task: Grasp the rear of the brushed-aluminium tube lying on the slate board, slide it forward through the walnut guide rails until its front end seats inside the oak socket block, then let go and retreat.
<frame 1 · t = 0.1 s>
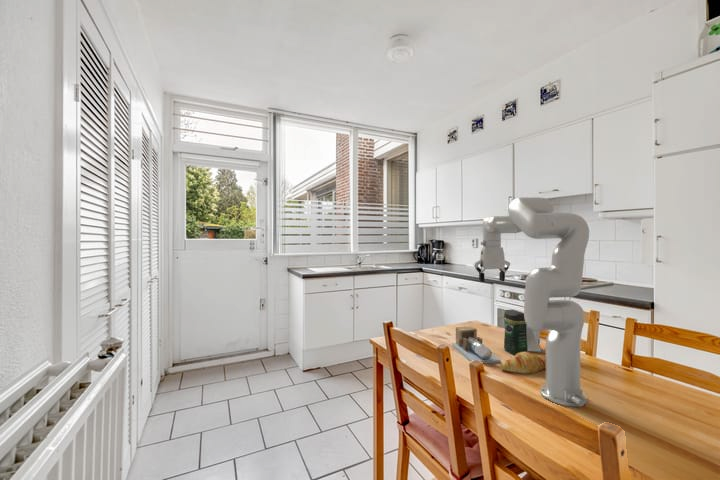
hand: (492, 281, 148), 31 cm above the table, tool pointing down, fingers open, 9 cm apart
croissant: (524, 369, 126), on the table
socket: (468, 348, 149), resting on board
tube: (478, 347, 139), point 4 cm above the table, slide at 0.0 cm
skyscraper: (533, 350, 146), on the table
coffee jar: (515, 352, 144), on the table
guide: (474, 352, 143), resting on board
board: (474, 353, 143), on the table
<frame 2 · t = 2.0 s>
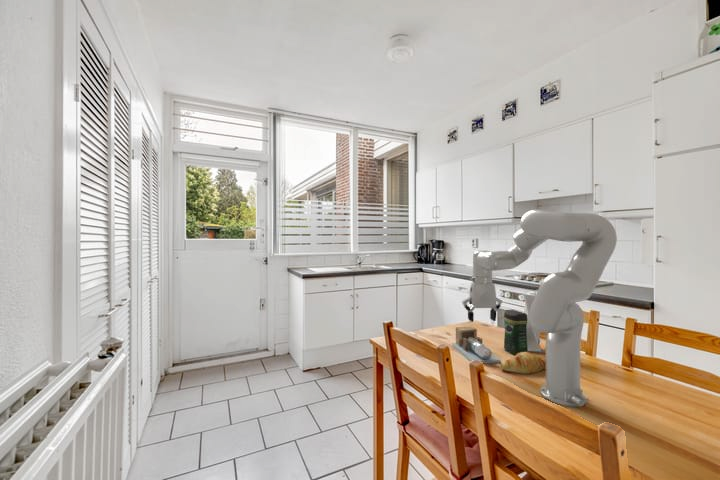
hand: (482, 320, 135), 17 cm above the table, tool pointing down, fingers open, 9 cm apart
nothing on the table moved.
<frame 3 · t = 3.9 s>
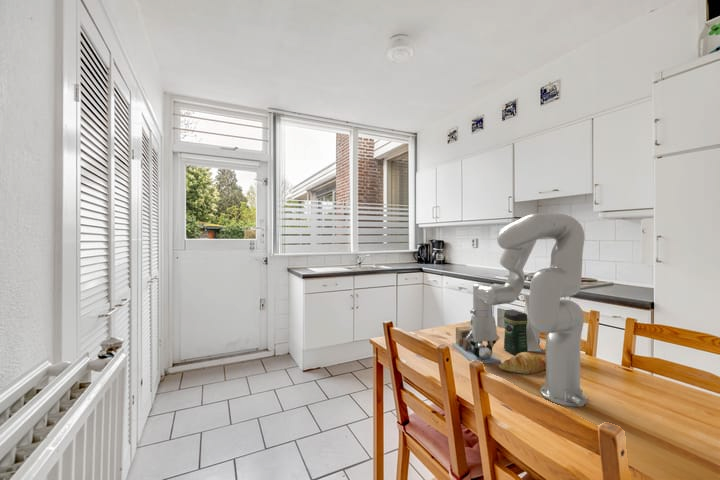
hand: (482, 355, 135), 2 cm above the table, tool pointing down, fingers closed on tube, 4 cm apart
tube: (478, 347, 139), point 4 cm above the table, slide at 0.0 cm, touching gripper
everything else where it was.
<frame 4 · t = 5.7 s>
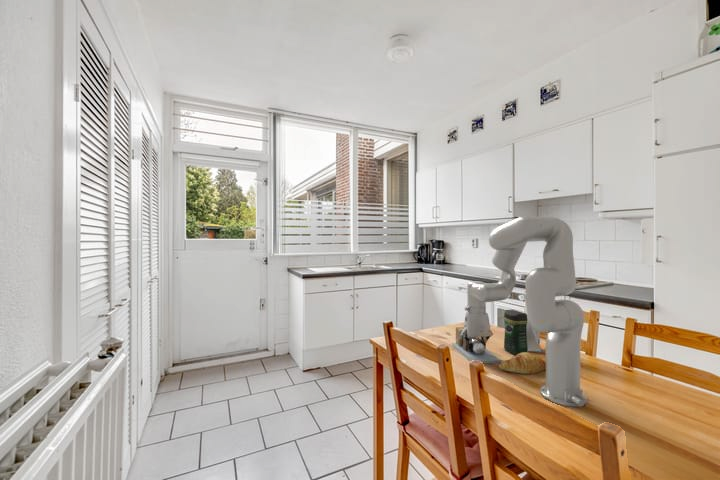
hand: (476, 350, 140), 2 cm above the table, tool pointing down, fingers closed on tube, 4 cm apart
tube: (472, 343, 144), point 4 cm above the table, slide at 5.5 cm, touching gripper
everything else where it was.
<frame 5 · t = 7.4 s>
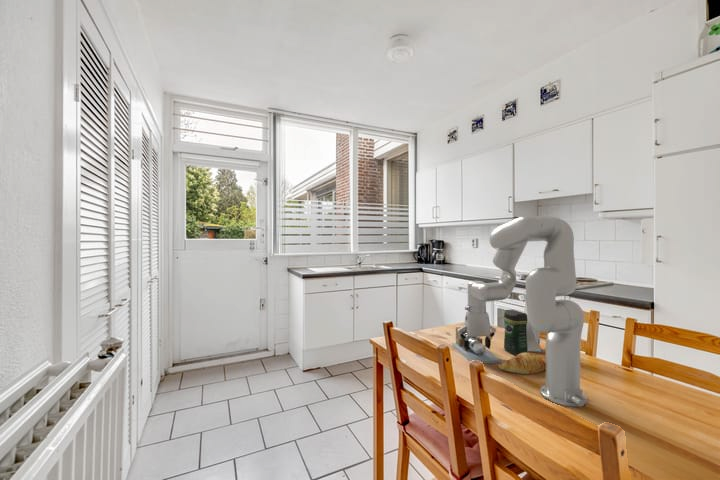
hand: (477, 348, 140), 3 cm above the table, tool pointing down, fingers open, 9 cm apart
tube: (472, 343, 144), point 4 cm above the table, slide at 5.1 cm
everything else where it was.
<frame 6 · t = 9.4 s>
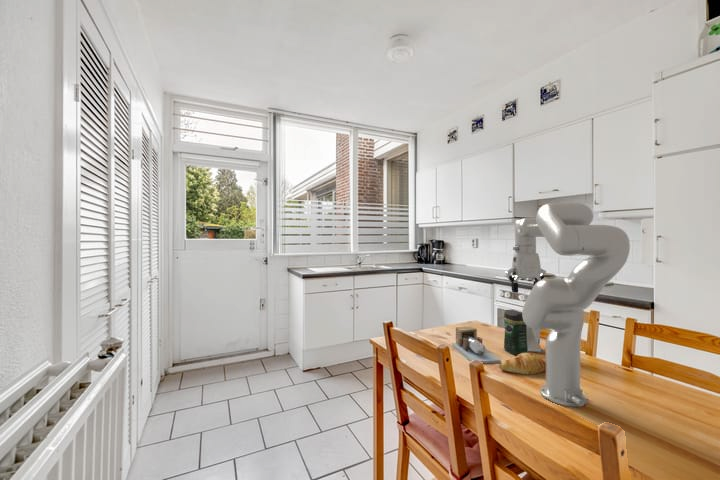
hand: (526, 291, 130), 29 cm above the table, tool pointing down, fingers open, 9 cm apart
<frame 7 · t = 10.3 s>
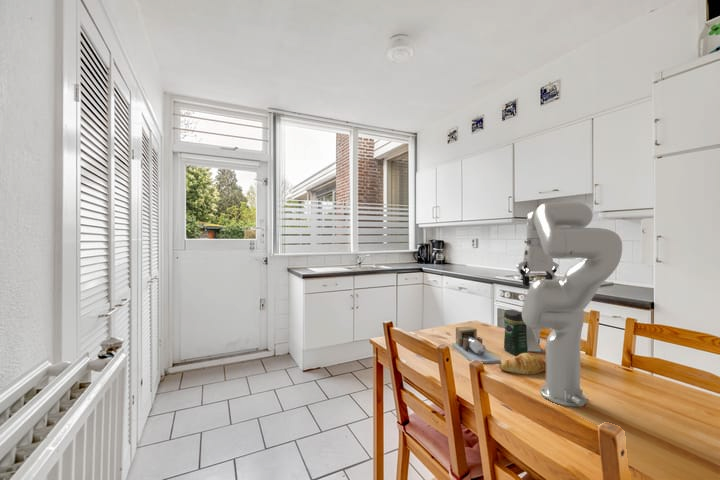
hand: (537, 285, 128), 32 cm above the table, tool pointing down, fingers open, 9 cm apart
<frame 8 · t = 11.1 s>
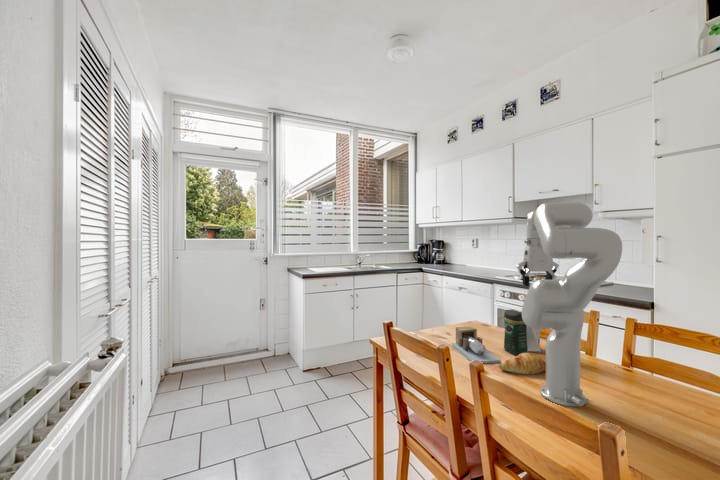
hand: (537, 285, 128), 32 cm above the table, tool pointing down, fingers open, 9 cm apart
at the end: tube slide at 5.1 cm; the gripper is holding nothing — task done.
